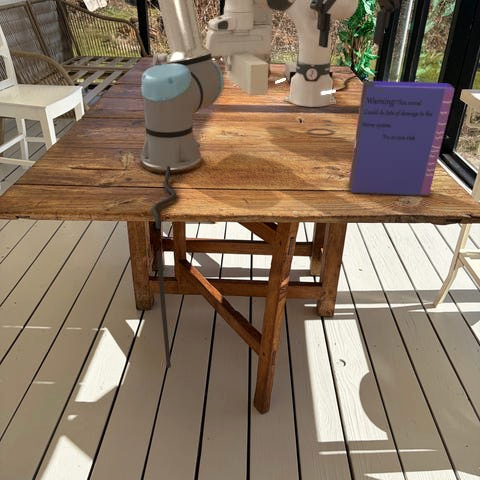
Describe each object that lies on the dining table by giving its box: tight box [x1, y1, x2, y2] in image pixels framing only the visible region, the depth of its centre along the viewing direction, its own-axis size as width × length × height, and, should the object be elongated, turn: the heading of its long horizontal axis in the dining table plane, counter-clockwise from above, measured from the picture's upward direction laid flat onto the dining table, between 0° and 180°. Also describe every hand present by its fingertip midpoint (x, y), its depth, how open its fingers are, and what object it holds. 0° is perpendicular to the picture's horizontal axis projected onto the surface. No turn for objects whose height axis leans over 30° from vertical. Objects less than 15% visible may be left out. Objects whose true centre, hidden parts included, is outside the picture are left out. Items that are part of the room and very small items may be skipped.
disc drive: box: [284, 61, 333, 85], centre depth 207 cm, size 18×22×5 cm
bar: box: [226, 53, 269, 97], centre depth 142 cm, size 22×5×8 cm, turn 18°
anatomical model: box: [265, 55, 272, 80], centre depth 197 cm, size 13×9×15 cm
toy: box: [152, 51, 219, 67], centre depth 222 cm, size 24×25×7 cm
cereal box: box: [348, 80, 455, 197], centre depth 104 cm, size 17×5×24 cm, turn 86°
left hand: (350, 45), depth 105 cm, fingers open, 13 cm apart
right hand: (238, 70), depth 149 cm, fingers closed on bar, 5 cm apart
